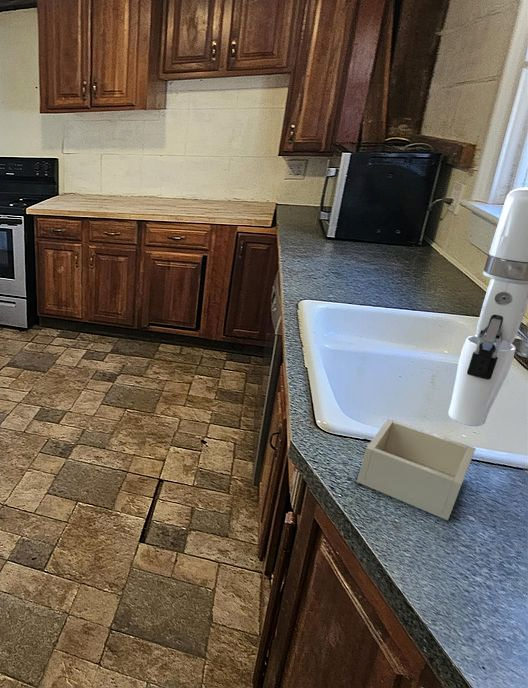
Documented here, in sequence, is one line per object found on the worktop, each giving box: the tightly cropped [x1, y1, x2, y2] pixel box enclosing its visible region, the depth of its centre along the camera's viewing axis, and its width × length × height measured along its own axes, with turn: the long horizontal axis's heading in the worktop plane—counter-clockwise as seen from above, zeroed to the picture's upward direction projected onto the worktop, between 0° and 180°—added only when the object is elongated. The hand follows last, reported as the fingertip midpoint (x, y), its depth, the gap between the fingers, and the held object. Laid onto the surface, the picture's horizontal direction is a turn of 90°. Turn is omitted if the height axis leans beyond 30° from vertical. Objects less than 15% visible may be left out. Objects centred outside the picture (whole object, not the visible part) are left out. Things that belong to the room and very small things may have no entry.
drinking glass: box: [447, 335, 517, 427], centre depth 91 cm, size 7×7×15 cm
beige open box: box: [356, 418, 476, 521], centre depth 89 cm, size 13×13×7 cm
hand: (482, 368), depth 90 cm, fingers closed on drinking glass, 6 cm apart
